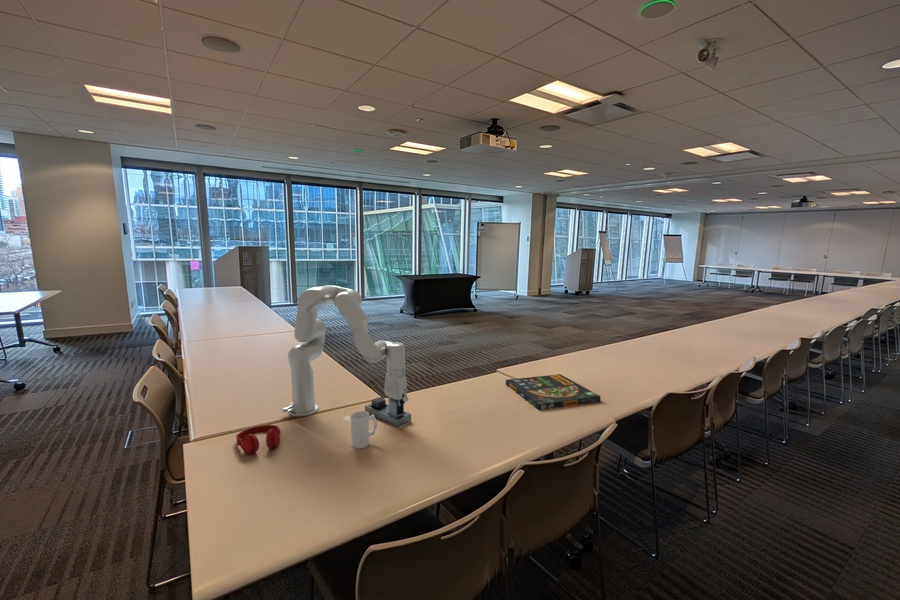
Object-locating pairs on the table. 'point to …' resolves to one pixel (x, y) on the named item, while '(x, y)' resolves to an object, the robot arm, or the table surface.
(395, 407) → the plug
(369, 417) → the mug
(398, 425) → the pdu strip
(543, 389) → the pizza box
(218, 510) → the table surface
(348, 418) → the coaster
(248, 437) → the headphones
